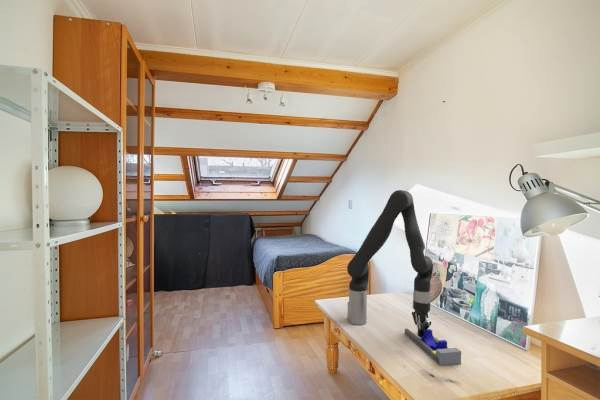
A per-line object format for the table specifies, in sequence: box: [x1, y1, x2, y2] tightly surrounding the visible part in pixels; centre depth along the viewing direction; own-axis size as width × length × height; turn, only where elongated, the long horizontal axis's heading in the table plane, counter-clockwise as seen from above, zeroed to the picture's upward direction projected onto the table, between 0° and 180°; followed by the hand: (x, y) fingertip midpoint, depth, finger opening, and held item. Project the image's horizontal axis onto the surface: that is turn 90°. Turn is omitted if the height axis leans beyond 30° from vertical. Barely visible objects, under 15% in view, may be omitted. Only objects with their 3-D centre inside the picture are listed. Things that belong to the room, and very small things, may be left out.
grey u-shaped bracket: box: [404, 328, 462, 367], centre depth 136 cm, size 9×28×5 cm, turn 10°
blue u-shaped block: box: [420, 328, 448, 351], centre depth 135 cm, size 12×4×6 cm, turn 10°
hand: (420, 336), depth 144 cm, fingers closed
